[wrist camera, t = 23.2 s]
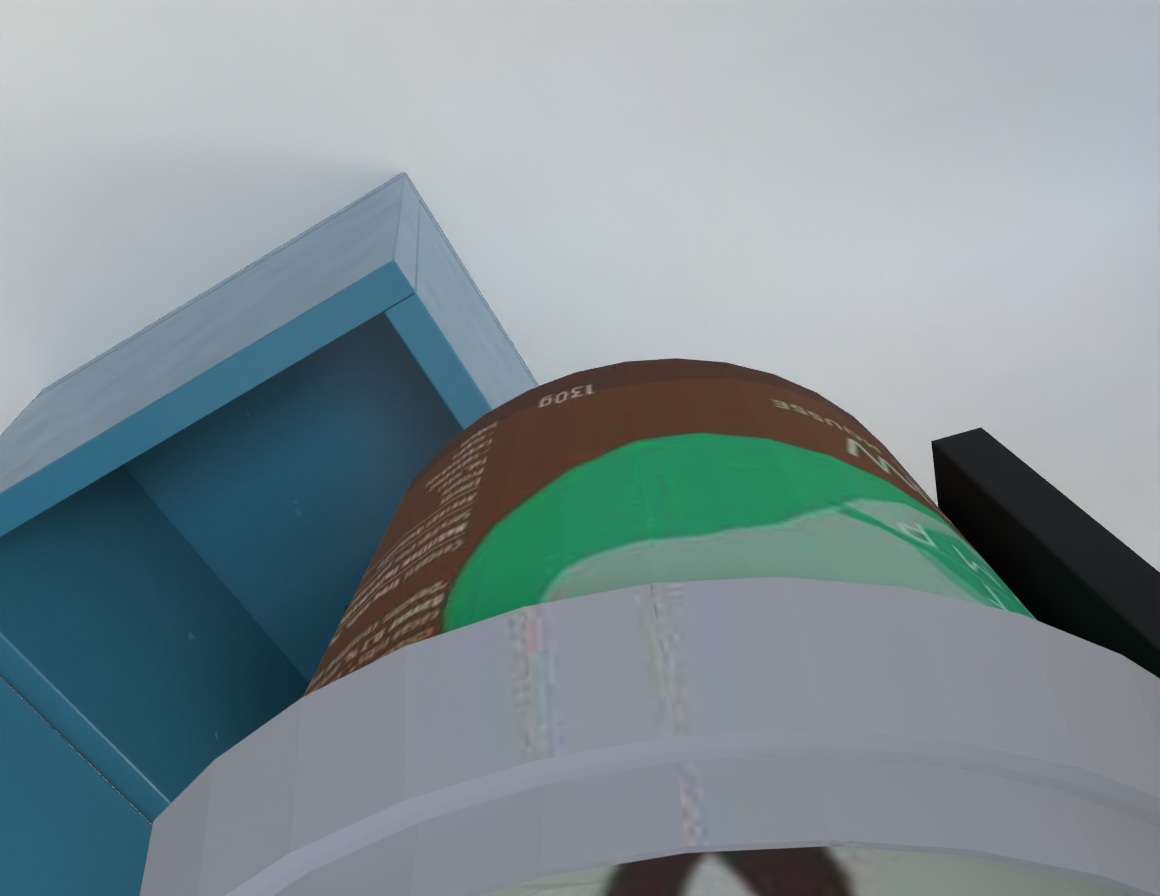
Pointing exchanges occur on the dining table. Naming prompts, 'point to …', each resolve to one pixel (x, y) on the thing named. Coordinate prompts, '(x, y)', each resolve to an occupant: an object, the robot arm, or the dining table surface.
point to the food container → (682, 681)
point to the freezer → (233, 488)
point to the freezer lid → (61, 816)
